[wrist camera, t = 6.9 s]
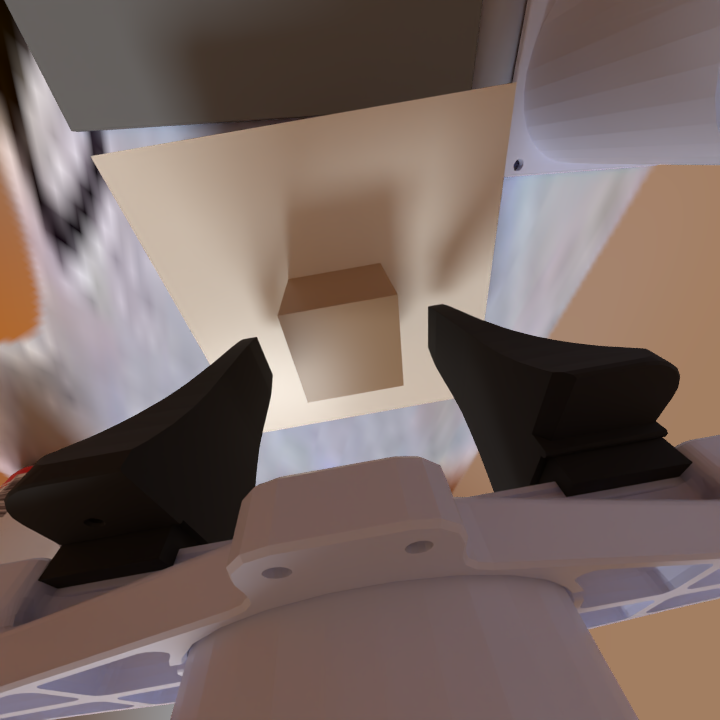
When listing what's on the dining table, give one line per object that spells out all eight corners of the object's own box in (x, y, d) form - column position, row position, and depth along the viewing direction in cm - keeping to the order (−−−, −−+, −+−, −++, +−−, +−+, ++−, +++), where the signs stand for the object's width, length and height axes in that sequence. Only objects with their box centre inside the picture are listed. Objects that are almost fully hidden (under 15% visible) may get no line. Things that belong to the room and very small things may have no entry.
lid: (501, 88, 10) (604, 46, 6) (467, 384, 18) (503, 440, 14) (109, 156, 10) (-16, 154, 6) (253, 422, 18) (236, 488, 14)
